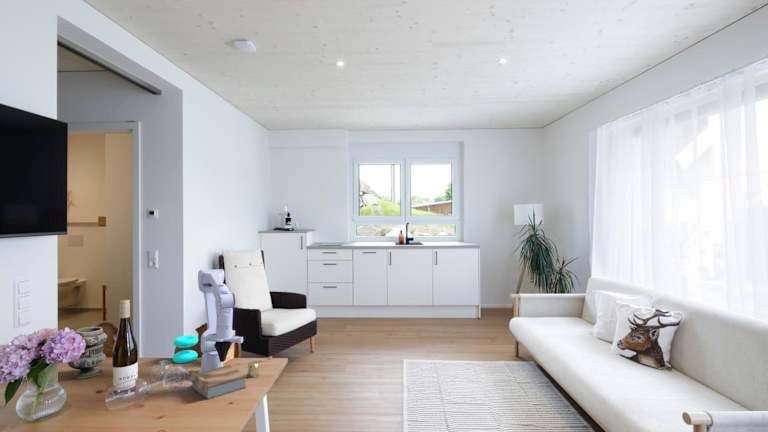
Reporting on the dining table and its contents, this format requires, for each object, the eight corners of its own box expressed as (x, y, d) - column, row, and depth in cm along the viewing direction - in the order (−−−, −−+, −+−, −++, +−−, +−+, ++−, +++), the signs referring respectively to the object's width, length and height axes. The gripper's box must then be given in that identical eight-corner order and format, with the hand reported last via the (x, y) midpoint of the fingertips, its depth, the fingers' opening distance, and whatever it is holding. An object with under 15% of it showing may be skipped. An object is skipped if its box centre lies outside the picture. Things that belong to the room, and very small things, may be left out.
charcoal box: (192, 387, 142) (192, 376, 142) (228, 377, 153) (228, 367, 153) (207, 399, 133) (208, 388, 133) (245, 388, 143) (245, 377, 143)
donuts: (168, 340, 166) (182, 334, 176) (167, 363, 166) (181, 355, 176) (190, 341, 166) (202, 335, 175) (189, 364, 165) (202, 357, 175)
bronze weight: (245, 375, 155) (245, 363, 155) (255, 372, 158) (255, 360, 158) (250, 378, 152) (251, 366, 152) (260, 375, 155) (261, 363, 155)
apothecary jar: (101, 377, 149) (104, 331, 149) (62, 382, 144) (65, 334, 144) (108, 367, 160) (110, 324, 160) (72, 371, 154) (74, 326, 155)
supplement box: (223, 364, 166) (224, 334, 167) (213, 363, 167) (215, 333, 167) (234, 358, 174) (235, 330, 175) (225, 357, 175) (226, 329, 176)
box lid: (188, 380, 142) (188, 371, 142) (229, 369, 153) (229, 361, 153) (204, 392, 132) (204, 382, 132) (246, 379, 143) (246, 370, 143)
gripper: (200, 327, 142) (198, 363, 141) (238, 328, 141) (236, 365, 141) (210, 322, 149) (208, 357, 148) (246, 324, 148) (244, 359, 148)
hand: (222, 360), depth 145 cm, fingers closed
